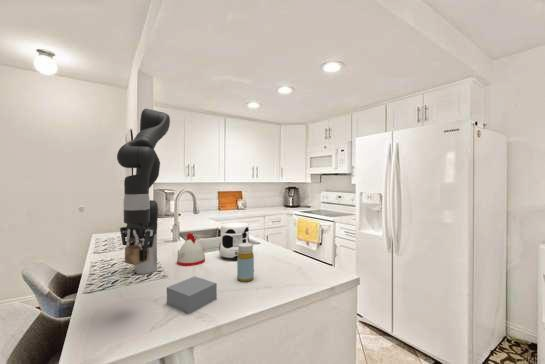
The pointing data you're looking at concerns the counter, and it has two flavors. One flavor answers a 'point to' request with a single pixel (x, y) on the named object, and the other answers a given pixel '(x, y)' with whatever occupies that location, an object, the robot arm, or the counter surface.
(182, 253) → the kitchen timer
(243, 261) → the bottle
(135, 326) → the counter surface
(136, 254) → the walnut cube
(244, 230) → the milk container
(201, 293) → the gray square block
